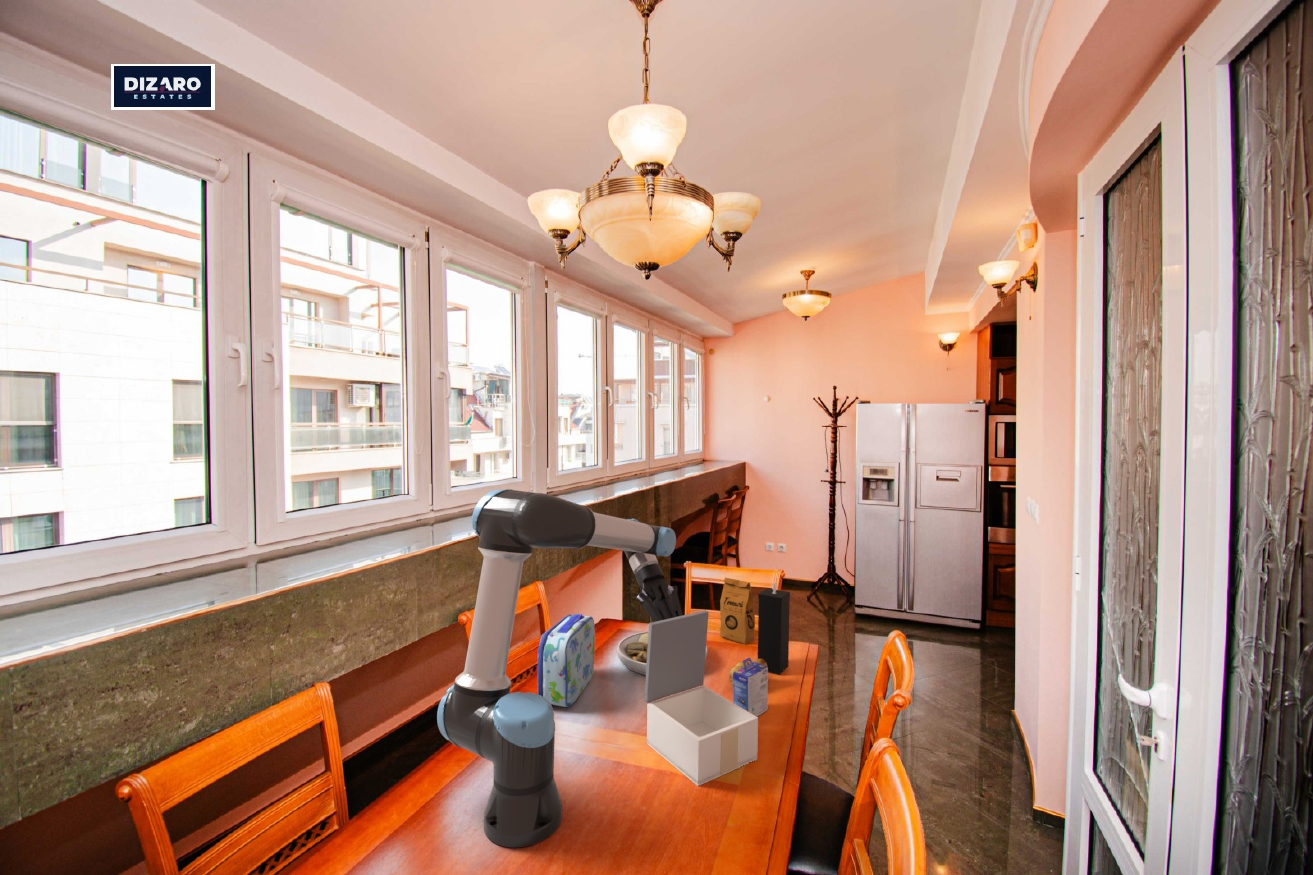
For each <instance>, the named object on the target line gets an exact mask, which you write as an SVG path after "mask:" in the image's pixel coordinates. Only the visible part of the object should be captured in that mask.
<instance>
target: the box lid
mask: <svg viewBox="0 0 1313 875" xmlns="http://www.w3.org/2000/svg"><path fill="white" fill-rule="evenodd" d="M682 615H683V614H682ZM708 625H709V611H708V610H701V611H696V612H691V613H687V614H684V615H683V616H679V617H674V618H670V619H665V620H661V621H656V622H653V621H651V622H649V623H648V631H649V632H648V648H647V664H646V675H645V682H644V683H645V684H644V697H643V698H644V699H643V700H644V702H645V703H646V704H647V703H651V702H654V701H657V700H660V699H663V698H666V697H669V696H672V695H675V694H679V693H682V692H685V691H688V690H691V689H694V688H697V687H700V686H703V685H704V681H705V679H704V678H705V666H706V665H705V664H706V660H705V655H706V646H707V639H708V627H709V626H708Z"/></svg>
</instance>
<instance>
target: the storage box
mask: <svg viewBox="0 0 1313 875" xmlns="http://www.w3.org/2000/svg"><path fill="white" fill-rule="evenodd" d="M646 704H647V705H646V706H647V707H646V710H647V711H646V714H647V716H646V744H647V745H648V746H649V747H650V748H651V749H653V750H654V751H655V752H656V753H657V754H659V755H660V756H661V757H662V758H664V759H665V760H666V761H667V762H669V764H671V765H672V766H673V767H674V768H676V769H677V770H678V771H679V772H680V773H682V775H684V776H685V777H686V778H687V779H689V780H690V781H691V782H692V783H693V784H694V785H696V786H697V787H699V786H701V785H704V784H705V783H708V782H710V781H713V780H715V779H717V778H719V777H721V776H724V775H725V774H729V773H730V772H733V771H734V769H735V770H737V769H739V768H741V766H742V767H743V765H744V766H747V765H748V764H750V763H749V762H751V763H753V762H755V761H757V760H758V738H759V736H758V734H759V732H758V729H759V716H757V717H756V716H754V715H753V714H751V713H749V712H748V711H746V710H744V709H743V708H741V707H739V706H738V705H736V704H734V703H733V701H731V700H729V699H727V698H726V697H724V696H722V695H721V694H719V693H717V692H715V691H714V690H712V689H711V688H709V687H707V686H706V685H704V684H703V685H702V686H699V687H696V688H692V689H689V690H686V691H683V692H680V693H677V694H674V695H671V696H668V697H664V698H661V699H658V700H655V701H652V702H649V703H646ZM754 760H755V761H754ZM752 761H753V762H752Z"/></svg>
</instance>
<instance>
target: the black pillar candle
mask: <svg viewBox="0 0 1313 875" xmlns="http://www.w3.org/2000/svg"><path fill="white" fill-rule="evenodd" d="M777 585H778V583H777V582H774V583H772V588H766V589H764V590H762V591H761V592H759V593H757V594H758V595H757V596H758V611H757V613H758V614H757V616H758V617H757V618H758V619H757V659H763V660H765V662H766V663H767V667H768V673H770V674H774V675H776V674H777V675H778V676H781V675H782V674H783V673H784V672H785V671H786V670H787V669H788V668H789V657H790V656H789V648H790V644H789V643H790V642H789V641H790V640H789V639H790V603H791V602H790V598H791V592H790V591H784V590H780V589H777V587H778V586H777Z"/></svg>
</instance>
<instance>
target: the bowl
mask: <svg viewBox="0 0 1313 875" xmlns="http://www.w3.org/2000/svg"><path fill="white" fill-rule="evenodd" d="M648 632H649V630H648V631H641V632H637V633H634V634H630V635H628V636H626V637H624V638H622V639H621V640H620V641H619V642H618V643H617V648H616V649H617V650H616V652H617V656H618V659H619V661H620V662H621V663H622V665H623V666H624V667H626V668H627V669H629V670H630V671H632V672H635V674H636V673H637V674H640V675H642V676H643V675H644V676H646V664H647V648H648ZM707 656H708V646H707V645H706V655H705V661H706V659H707Z"/></svg>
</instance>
